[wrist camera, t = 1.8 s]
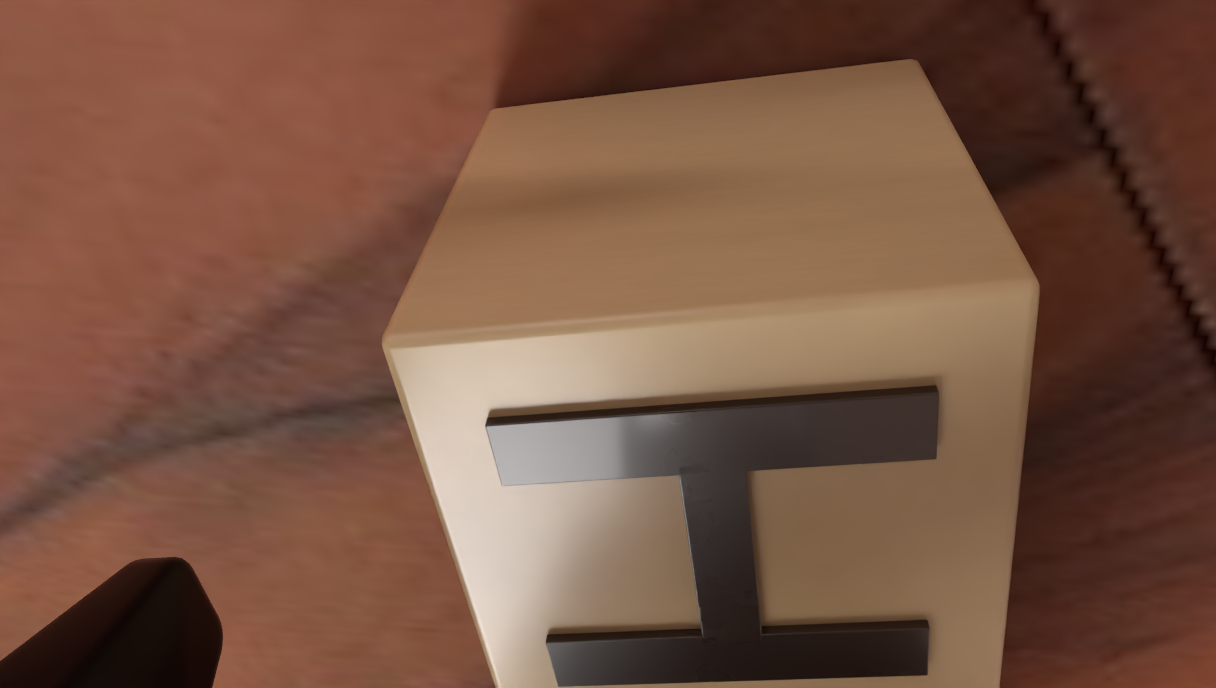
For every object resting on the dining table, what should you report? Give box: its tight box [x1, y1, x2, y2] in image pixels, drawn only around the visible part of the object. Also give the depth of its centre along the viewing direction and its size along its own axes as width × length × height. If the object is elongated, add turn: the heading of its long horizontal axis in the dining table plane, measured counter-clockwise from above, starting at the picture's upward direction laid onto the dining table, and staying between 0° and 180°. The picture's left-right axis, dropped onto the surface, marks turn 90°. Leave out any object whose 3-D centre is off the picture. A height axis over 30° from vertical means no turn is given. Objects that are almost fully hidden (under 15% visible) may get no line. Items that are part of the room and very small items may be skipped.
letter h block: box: [382, 59, 1041, 688], centre depth 10 cm, size 4×4×5 cm
